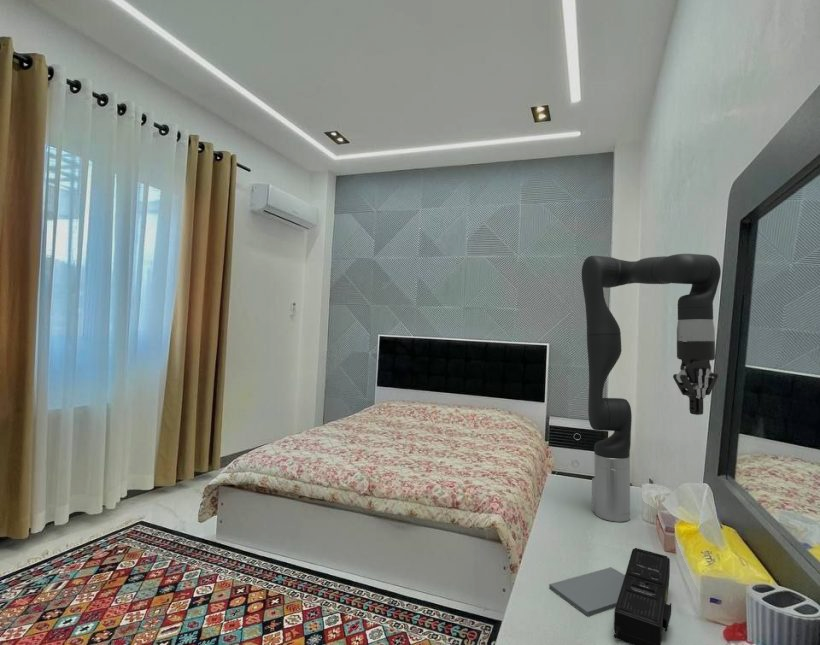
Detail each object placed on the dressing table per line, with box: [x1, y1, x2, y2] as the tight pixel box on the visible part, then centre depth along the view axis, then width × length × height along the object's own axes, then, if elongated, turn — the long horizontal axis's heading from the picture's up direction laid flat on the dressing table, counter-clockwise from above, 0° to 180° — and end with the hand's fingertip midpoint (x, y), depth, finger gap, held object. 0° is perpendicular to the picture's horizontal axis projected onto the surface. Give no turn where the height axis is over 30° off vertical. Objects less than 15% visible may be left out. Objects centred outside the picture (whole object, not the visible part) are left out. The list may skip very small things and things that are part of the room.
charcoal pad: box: [548, 566, 625, 617], centre depth 89 cm, size 10×17×1 cm, turn 114°
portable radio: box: [613, 547, 672, 645], centre depth 82 cm, size 8×6×25 cm
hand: (696, 414), depth 104 cm, fingers closed
